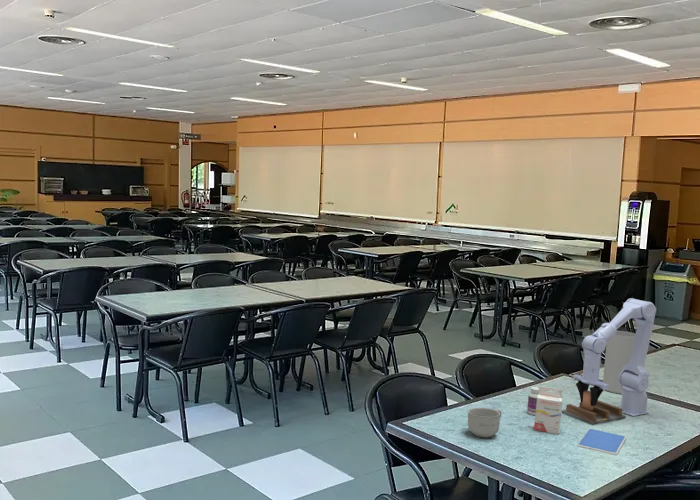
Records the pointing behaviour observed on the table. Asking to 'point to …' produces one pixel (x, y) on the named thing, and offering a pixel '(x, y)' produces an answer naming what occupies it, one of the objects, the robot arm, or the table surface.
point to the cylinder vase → (617, 359)
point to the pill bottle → (532, 400)
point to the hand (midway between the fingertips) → (588, 403)
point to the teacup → (484, 421)
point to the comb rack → (595, 413)
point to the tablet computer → (602, 441)
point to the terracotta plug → (587, 400)
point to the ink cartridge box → (548, 410)
